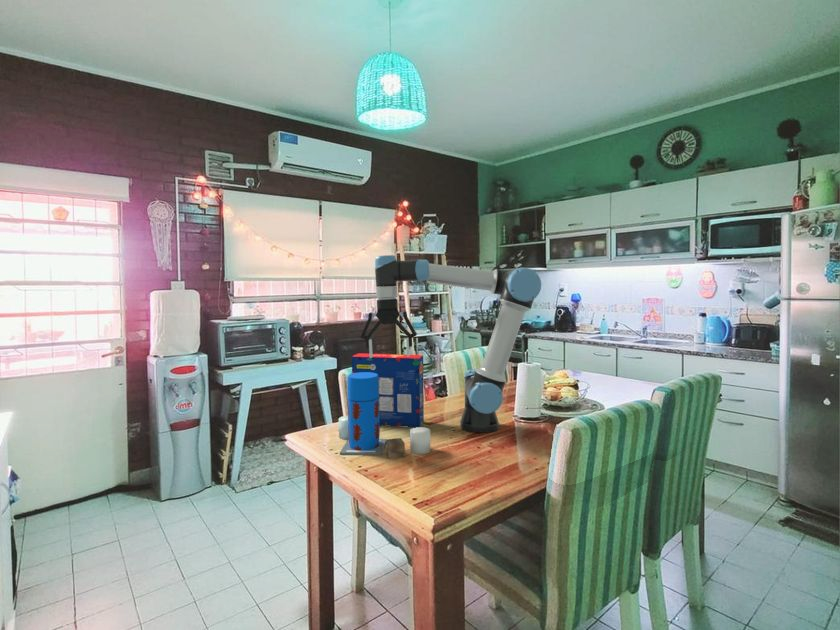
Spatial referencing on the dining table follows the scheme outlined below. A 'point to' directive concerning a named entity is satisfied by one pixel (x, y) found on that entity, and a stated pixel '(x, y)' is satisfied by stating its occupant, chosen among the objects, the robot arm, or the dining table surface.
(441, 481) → the dining table surface
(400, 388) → the pasta box
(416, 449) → the white rounded cylinder
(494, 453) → the dining table surface
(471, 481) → the dining table surface
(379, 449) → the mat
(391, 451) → the walnut block
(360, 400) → the thermos
